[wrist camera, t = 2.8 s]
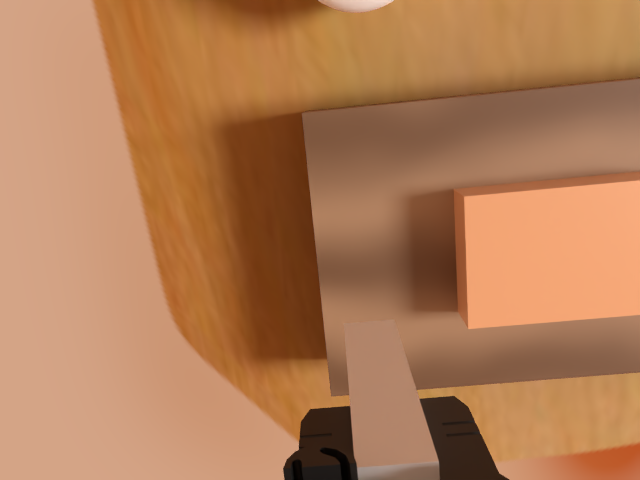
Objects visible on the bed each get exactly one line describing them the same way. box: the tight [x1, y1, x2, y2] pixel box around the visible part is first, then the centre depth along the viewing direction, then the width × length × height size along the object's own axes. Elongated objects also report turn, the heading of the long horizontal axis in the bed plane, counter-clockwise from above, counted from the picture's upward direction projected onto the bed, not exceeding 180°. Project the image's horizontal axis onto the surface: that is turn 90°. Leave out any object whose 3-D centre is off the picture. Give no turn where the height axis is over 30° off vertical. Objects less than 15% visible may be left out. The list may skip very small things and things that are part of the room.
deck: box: [302, 77, 640, 396], centre depth 27 cm, size 14×24×4 cm, turn 96°
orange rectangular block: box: [454, 171, 640, 329], centre depth 24 cm, size 6×9×2 cm, turn 96°
